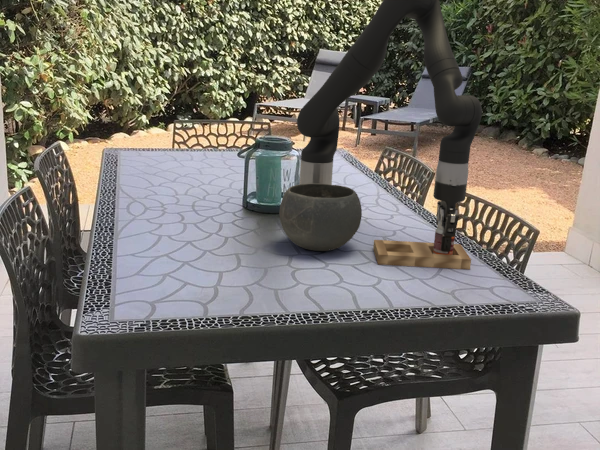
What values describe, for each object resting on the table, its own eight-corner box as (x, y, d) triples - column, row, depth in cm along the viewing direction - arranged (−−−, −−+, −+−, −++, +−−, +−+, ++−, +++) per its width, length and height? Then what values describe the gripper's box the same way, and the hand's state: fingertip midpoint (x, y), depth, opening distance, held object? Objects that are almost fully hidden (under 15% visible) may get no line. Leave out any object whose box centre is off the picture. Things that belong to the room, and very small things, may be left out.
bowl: (369, 244, 180) (374, 187, 176) (340, 266, 162) (345, 204, 158) (299, 231, 188) (302, 177, 184) (264, 251, 170) (266, 191, 166)
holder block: (377, 264, 165) (378, 254, 164) (373, 249, 176) (373, 239, 176) (470, 269, 165) (471, 259, 164) (459, 253, 177) (460, 244, 176)
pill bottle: (452, 258, 168) (456, 225, 166) (432, 256, 169) (436, 223, 166) (452, 253, 172) (456, 220, 170) (432, 250, 173) (436, 218, 171)
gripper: (430, 173, 172) (423, 238, 177) (441, 185, 158) (433, 256, 163) (460, 174, 172) (452, 240, 177) (473, 187, 158) (464, 258, 163)
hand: (443, 247), depth 170 cm, fingers closed on pill bottle, 4 cm apart
